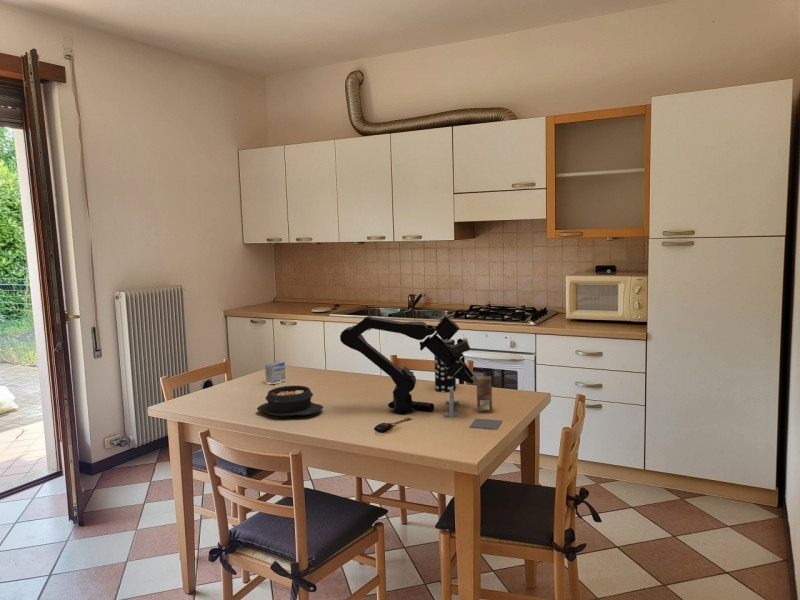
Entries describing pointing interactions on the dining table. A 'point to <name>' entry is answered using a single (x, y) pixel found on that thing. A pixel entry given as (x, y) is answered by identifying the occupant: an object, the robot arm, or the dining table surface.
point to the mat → (486, 423)
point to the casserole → (290, 402)
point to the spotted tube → (443, 374)
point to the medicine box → (275, 372)
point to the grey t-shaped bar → (451, 405)
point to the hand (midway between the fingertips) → (472, 379)
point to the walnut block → (484, 394)
